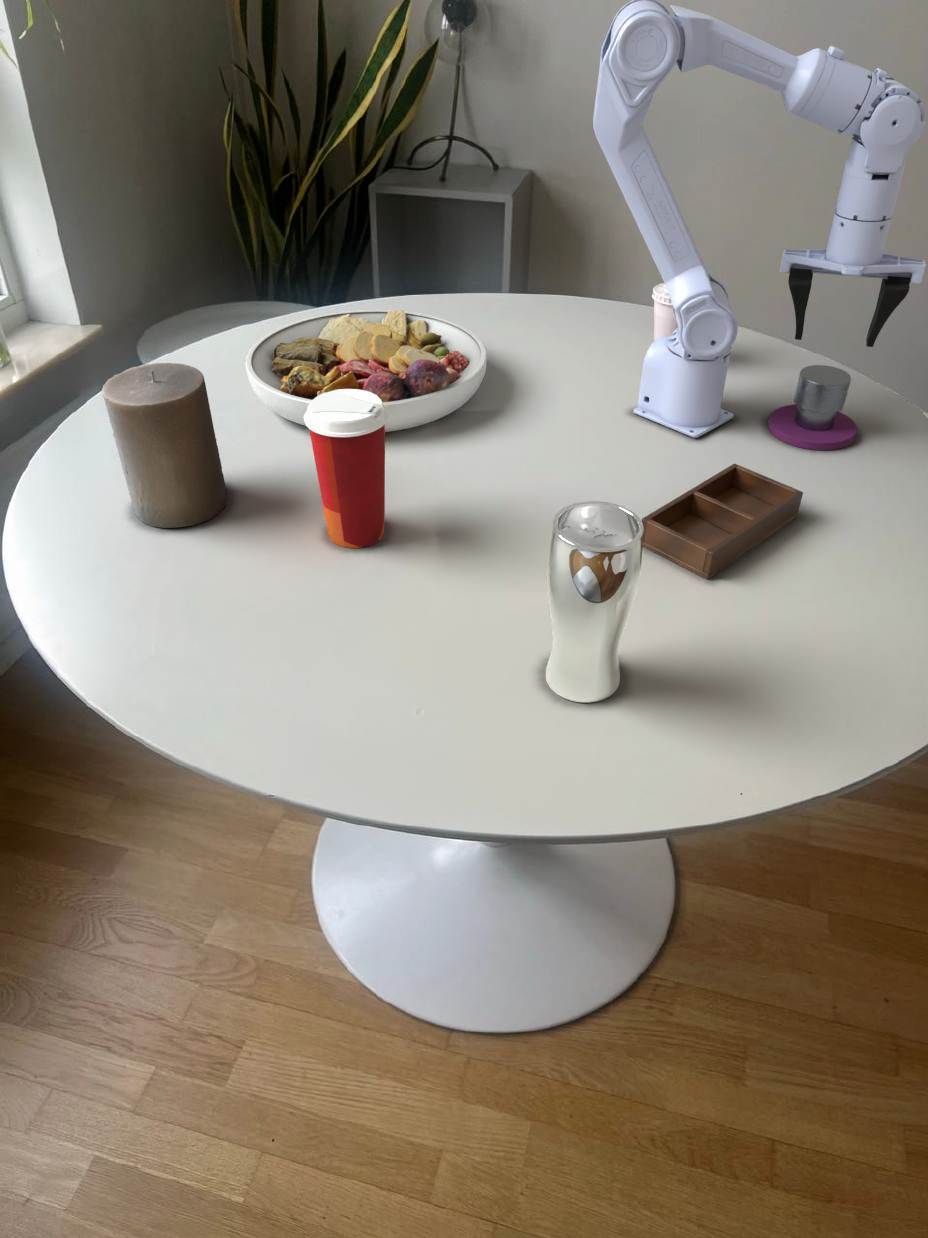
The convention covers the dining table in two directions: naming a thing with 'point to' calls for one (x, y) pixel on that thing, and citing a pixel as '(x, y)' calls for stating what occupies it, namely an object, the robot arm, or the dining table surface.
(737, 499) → the tray
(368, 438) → the paper cup
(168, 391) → the pillar candle
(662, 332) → the smoothie
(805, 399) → the grey metal cylinder
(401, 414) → the bowl
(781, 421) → the plum lid
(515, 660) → the dining table surface
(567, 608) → the beer glass
